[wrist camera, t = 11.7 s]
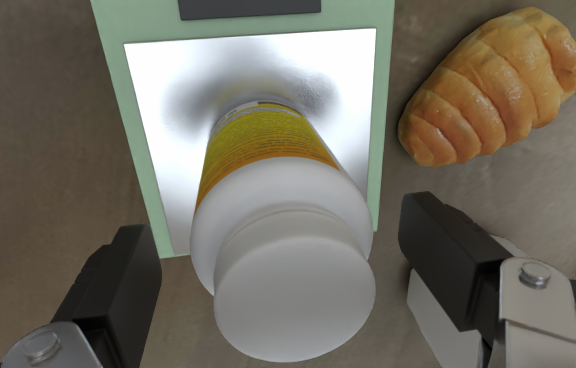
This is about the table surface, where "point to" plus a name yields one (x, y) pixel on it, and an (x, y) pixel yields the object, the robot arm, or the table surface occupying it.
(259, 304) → the supplement bottle
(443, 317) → the bottle
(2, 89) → the table surface
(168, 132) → the scale
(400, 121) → the pastry
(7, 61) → the table surface
